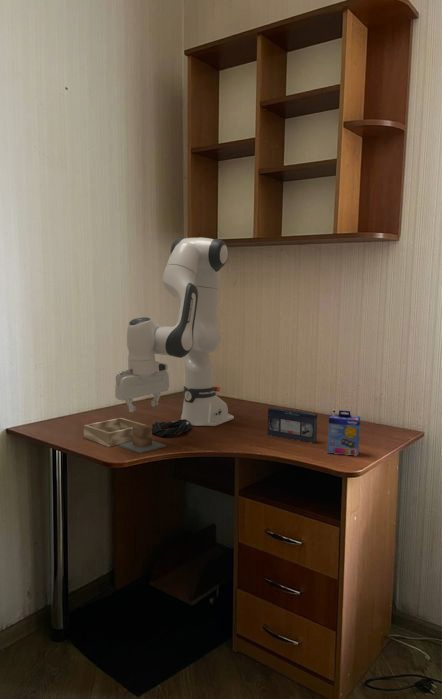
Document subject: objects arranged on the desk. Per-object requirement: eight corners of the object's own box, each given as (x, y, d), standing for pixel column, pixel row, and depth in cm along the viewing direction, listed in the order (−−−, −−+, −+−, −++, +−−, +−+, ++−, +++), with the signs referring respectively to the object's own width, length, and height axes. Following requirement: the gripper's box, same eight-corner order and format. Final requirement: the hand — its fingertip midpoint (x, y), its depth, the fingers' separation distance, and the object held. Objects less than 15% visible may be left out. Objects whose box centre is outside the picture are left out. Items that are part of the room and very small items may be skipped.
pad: (144, 440, 189) (144, 438, 189) (165, 446, 182) (165, 444, 182) (118, 446, 181) (118, 444, 181) (139, 453, 174) (139, 451, 174)
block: (143, 442, 185) (143, 424, 184) (151, 444, 182) (151, 427, 181) (132, 444, 182) (132, 427, 181) (141, 447, 179) (141, 429, 178)
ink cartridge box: (326, 454, 176) (328, 410, 175) (328, 449, 182) (330, 406, 180) (358, 457, 174) (360, 412, 172) (359, 452, 179) (360, 408, 177)
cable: (179, 440, 191) (179, 428, 190) (142, 436, 195) (142, 425, 194) (194, 428, 207) (194, 417, 207) (160, 425, 211) (160, 414, 211)
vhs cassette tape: (266, 435, 198) (267, 408, 197) (271, 433, 200) (271, 407, 199) (313, 444, 188) (314, 415, 186) (316, 442, 190) (317, 414, 189)
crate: (121, 429, 203) (121, 417, 202) (146, 437, 193) (146, 425, 192) (83, 437, 191) (83, 425, 191) (109, 446, 181) (109, 433, 180)
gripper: (121, 373, 169) (124, 416, 171) (171, 364, 184) (172, 404, 186) (109, 371, 174) (112, 413, 175) (159, 362, 188) (160, 401, 190)
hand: (143, 408), depth 181 cm, fingers open, 8 cm apart
